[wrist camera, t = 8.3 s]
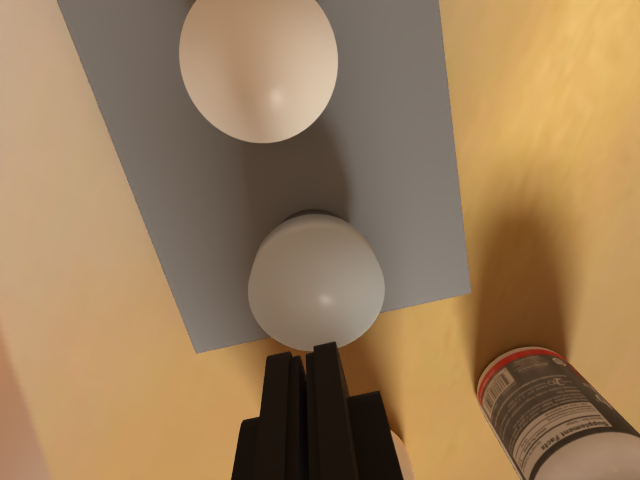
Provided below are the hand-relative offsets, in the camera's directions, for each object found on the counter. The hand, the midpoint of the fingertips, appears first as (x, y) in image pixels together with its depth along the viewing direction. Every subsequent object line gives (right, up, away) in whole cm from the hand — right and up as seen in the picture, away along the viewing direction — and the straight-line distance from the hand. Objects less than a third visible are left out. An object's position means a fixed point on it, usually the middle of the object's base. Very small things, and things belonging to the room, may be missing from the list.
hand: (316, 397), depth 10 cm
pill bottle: (+12, -5, +15) cm, 20 cm away
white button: (-2, +10, +5) cm, 11 cm away
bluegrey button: (0, +3, +7) cm, 7 cm away
